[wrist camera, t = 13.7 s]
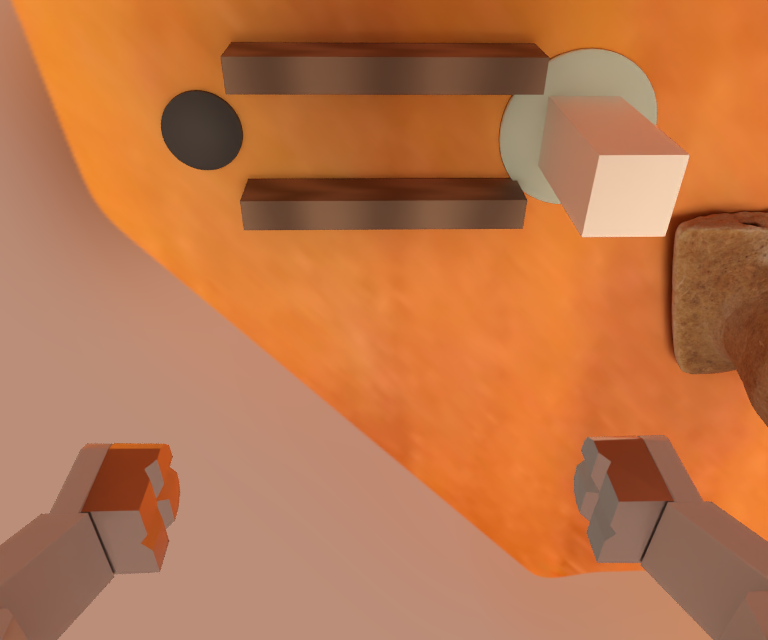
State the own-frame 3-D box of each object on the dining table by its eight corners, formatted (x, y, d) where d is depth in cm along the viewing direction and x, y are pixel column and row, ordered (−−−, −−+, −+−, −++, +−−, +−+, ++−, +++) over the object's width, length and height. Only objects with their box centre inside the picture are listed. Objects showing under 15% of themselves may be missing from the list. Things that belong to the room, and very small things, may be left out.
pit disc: (145, 116, 39) (144, 117, 39) (208, 74, 38) (208, 76, 37) (197, 181, 41) (196, 183, 41) (258, 144, 40) (257, 146, 40)
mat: (474, 101, 39) (475, 103, 39) (629, 15, 36) (631, 16, 36) (532, 225, 44) (533, 228, 44) (671, 157, 42) (674, 159, 41)
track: (251, 206, 43) (244, 230, 40) (231, 42, 37) (220, 56, 34) (511, 205, 43) (522, 228, 40) (534, 43, 37) (549, 57, 34)
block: (538, 165, 41) (581, 237, 33) (548, 96, 39) (599, 155, 30) (605, 165, 41) (665, 236, 33) (620, 96, 39) (689, 155, 31)
